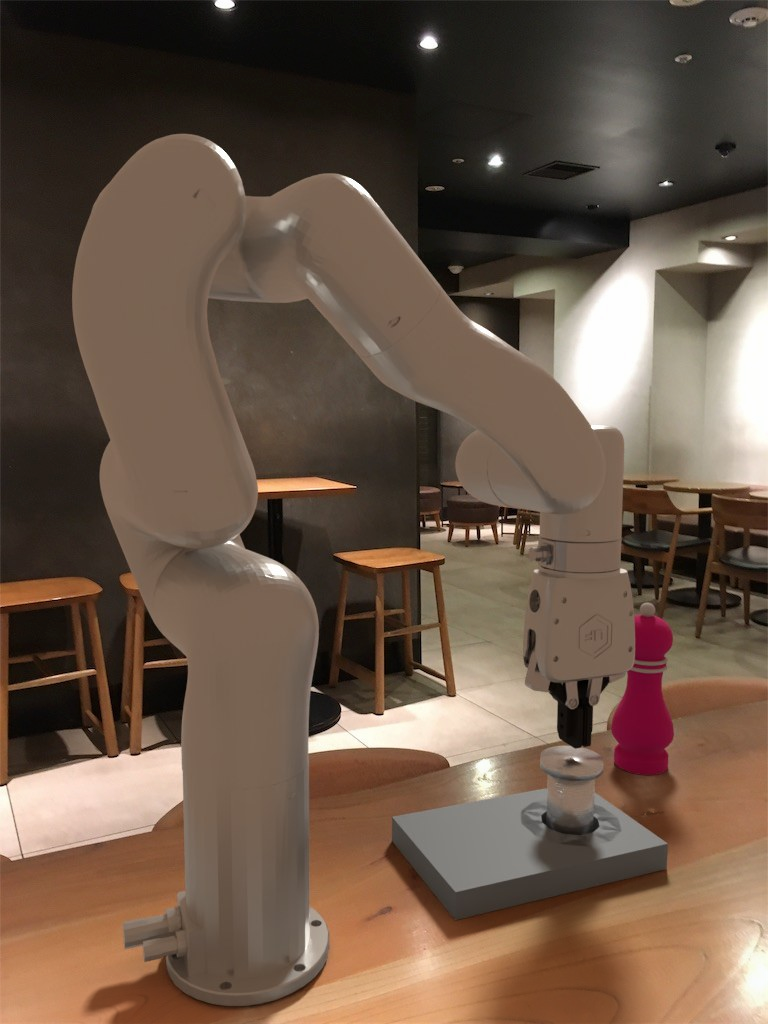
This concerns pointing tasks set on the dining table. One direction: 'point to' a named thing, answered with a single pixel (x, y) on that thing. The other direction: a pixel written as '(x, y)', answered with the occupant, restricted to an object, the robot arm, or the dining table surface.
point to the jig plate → (520, 852)
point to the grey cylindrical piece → (571, 788)
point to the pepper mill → (645, 701)
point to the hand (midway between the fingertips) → (574, 742)
